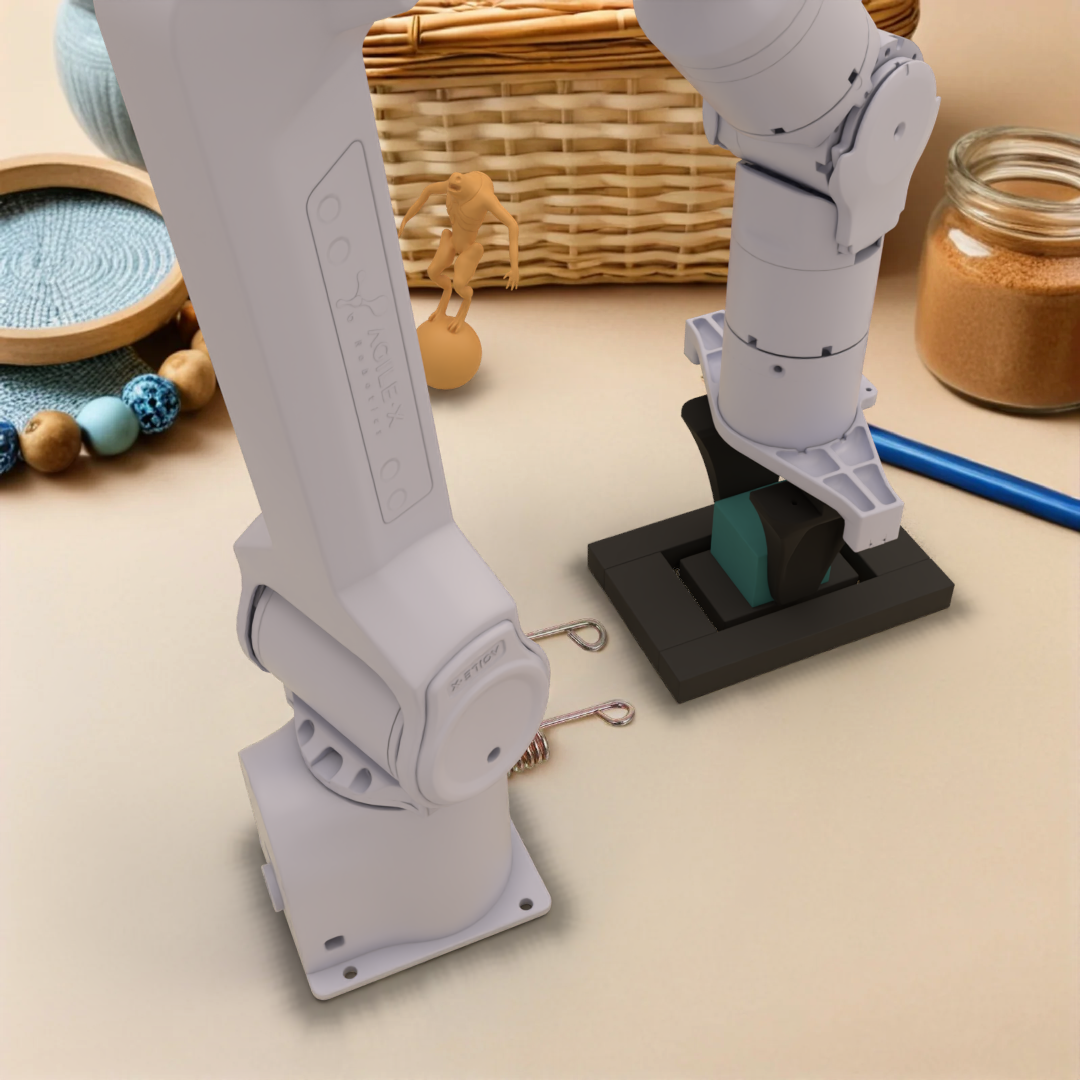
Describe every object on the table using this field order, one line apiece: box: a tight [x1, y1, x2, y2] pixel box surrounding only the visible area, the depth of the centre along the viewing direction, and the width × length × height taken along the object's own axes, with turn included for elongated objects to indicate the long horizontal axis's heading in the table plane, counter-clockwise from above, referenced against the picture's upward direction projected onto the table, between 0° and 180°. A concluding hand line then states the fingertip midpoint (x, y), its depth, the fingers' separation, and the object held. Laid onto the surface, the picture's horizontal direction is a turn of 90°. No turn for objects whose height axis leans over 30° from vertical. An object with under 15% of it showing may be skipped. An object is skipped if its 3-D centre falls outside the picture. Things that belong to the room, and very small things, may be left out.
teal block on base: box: [678, 479, 859, 632], centre depth 66 cm, size 7×4×4 cm, turn 113°
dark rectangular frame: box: [587, 503, 956, 704], centre depth 67 cm, size 14×9×2 cm
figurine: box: [397, 170, 520, 391], centre depth 76 cm, size 8×6×12 cm
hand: (768, 561), depth 67 cm, fingers closed on teal block on base, 4 cm apart
